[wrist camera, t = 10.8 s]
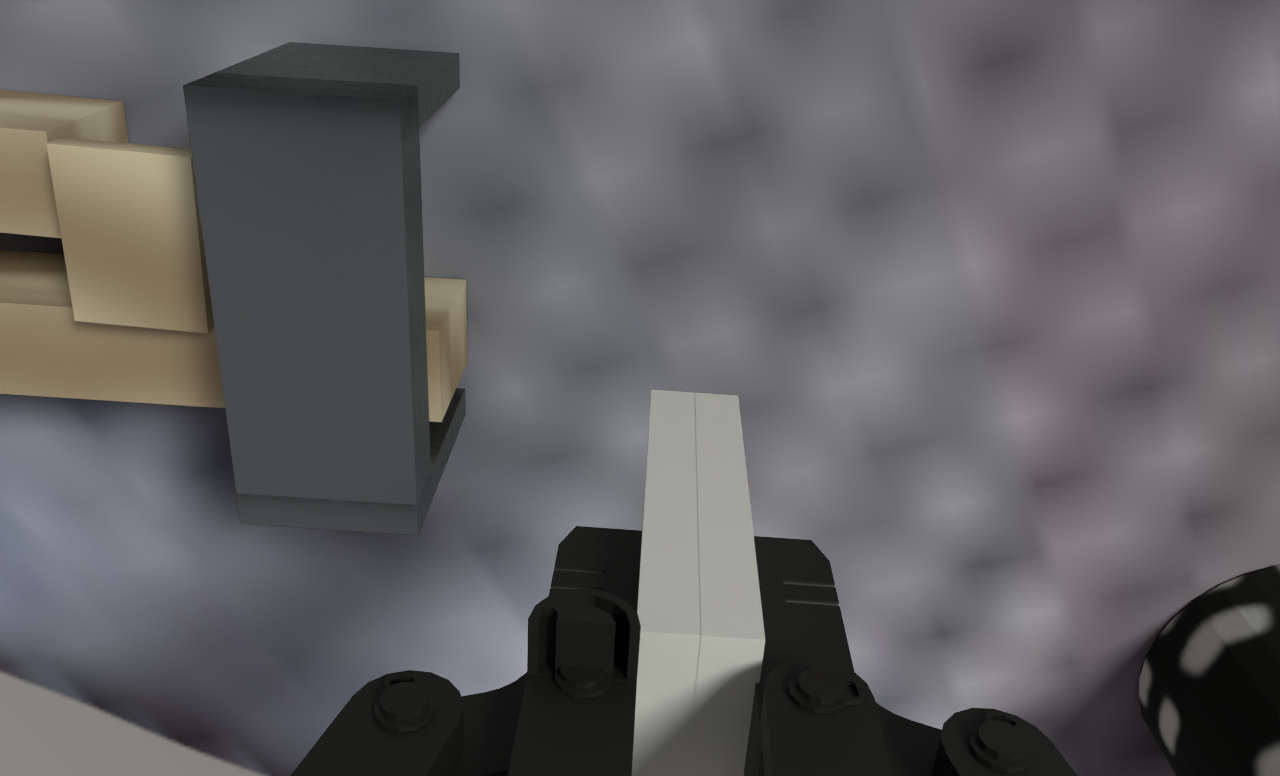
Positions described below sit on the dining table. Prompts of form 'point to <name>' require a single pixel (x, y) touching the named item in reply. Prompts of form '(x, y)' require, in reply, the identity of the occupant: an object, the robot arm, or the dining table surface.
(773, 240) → the dining table surface
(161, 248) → the tongs jaw
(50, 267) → the bar
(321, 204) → the collar
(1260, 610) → the white-spotted black cylinder
